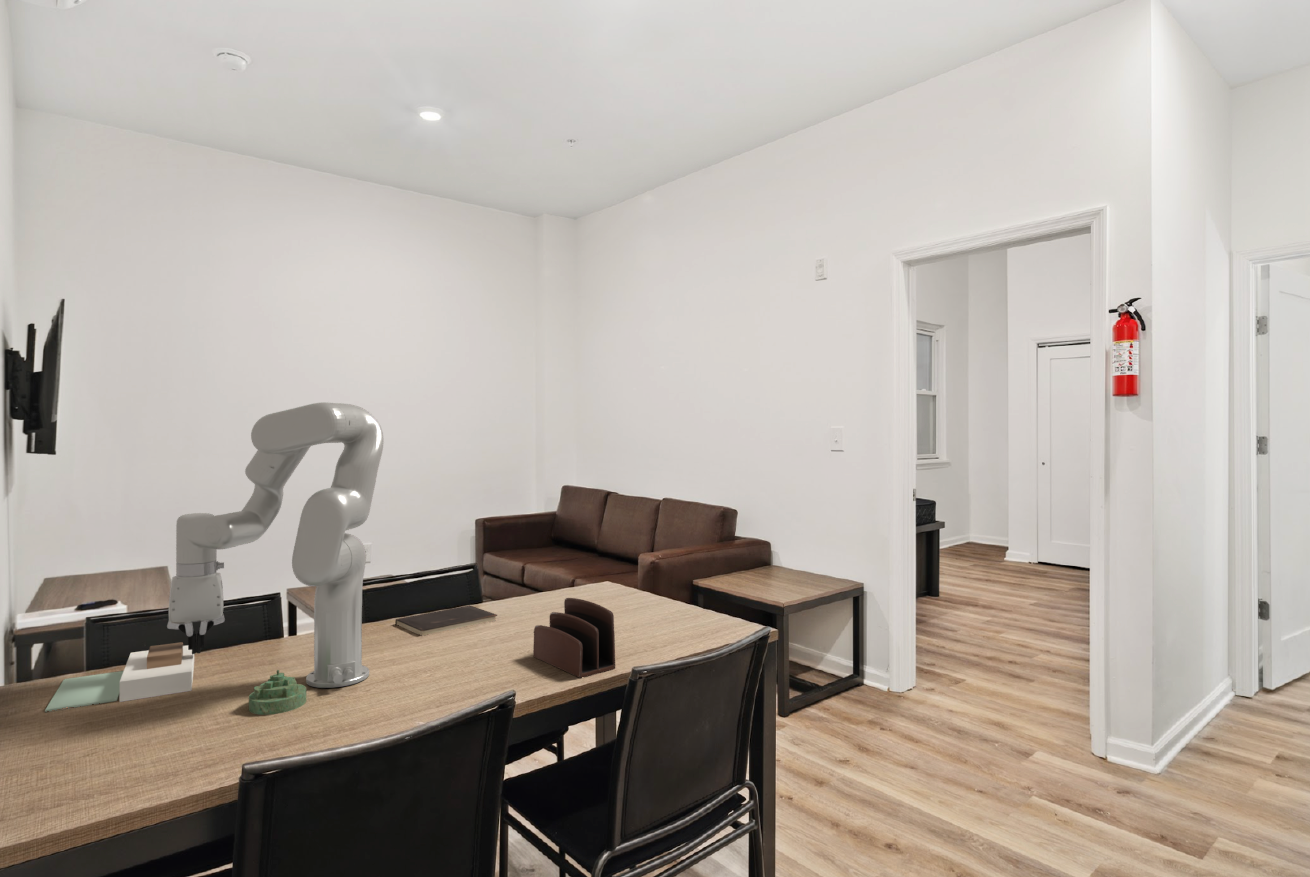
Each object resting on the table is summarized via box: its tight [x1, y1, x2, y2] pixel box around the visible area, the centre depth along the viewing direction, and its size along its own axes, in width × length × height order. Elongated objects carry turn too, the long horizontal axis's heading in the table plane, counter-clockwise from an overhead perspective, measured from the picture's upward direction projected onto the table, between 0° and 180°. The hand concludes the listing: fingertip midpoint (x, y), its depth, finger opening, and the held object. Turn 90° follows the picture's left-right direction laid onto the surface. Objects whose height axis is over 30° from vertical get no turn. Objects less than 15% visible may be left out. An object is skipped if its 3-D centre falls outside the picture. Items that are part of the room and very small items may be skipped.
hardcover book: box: [394, 605, 498, 637], centre depth 201 cm, size 16×23×2 cm
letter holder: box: [532, 597, 616, 679], centre depth 166 cm, size 10×20×14 cm, turn 41°
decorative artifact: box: [248, 669, 307, 716], centre depth 140 cm, size 10×7×10 cm
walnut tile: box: [147, 641, 184, 669], centre depth 154 cm, size 9×6×2 cm, turn 32°
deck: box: [119, 644, 195, 703], centre depth 153 cm, size 22×12×4 cm, turn 32°
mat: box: [44, 670, 124, 713], centre depth 147 cm, size 20×11×1 cm, turn 32°
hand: (196, 652), depth 157 cm, fingers closed
